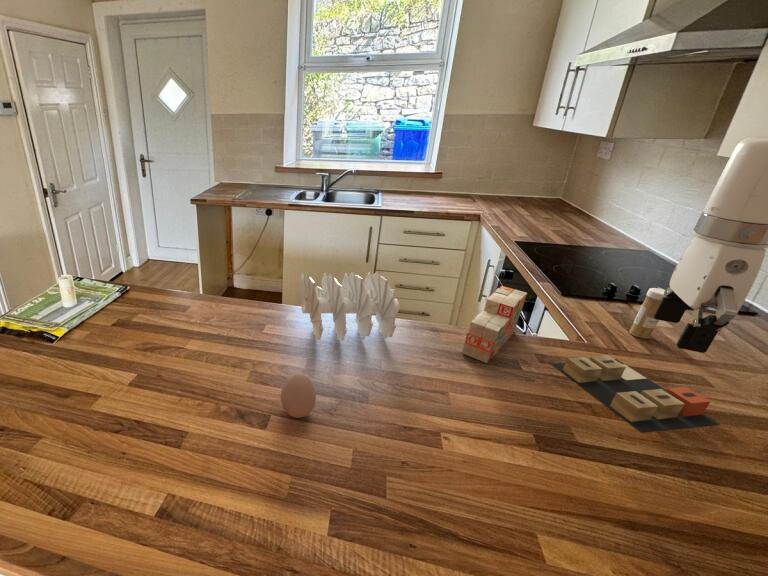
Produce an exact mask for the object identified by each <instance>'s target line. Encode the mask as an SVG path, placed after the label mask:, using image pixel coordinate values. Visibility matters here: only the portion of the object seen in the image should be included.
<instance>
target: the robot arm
mask: <svg viewBox="0 0 768 576" xmlns="http://www.w3.org/2000/svg"><path fill="white" fill-rule="evenodd" d="M691 235H692V236H693V238H692V239H691V241H690V243H689V244H688V245H687V247H686V249H685V251H684V252H683V254H682V255H681V258H680V259H679V261H678V262H677V265H676V266H674V268H673V270H672V274H671V277H670V279H669V280H668V281H667V284H668V286H667V288H666V289H664V290H665V291H664V296H665V297H663V298H662V300H661V302H660V304H659V306H658V308H657V310H656V312H655V314H654V316H653V317H654V318H655V319H656V320H659V321H662V322H668V323H673V324H678V323H680V321H681V320H682V318H683V316H684V314H685V313H686V311H687V309H688V307H689V308H690V309H692V310H693V312H692V322H691V323H689V322H687V324H686V326H685V327H684V329H683V331H682V332H681V334H680V337H679V338H678V340H677V342H676V344H675V345H676V346H677V348H678V349H682V350H686V351H690V352H695V353H701V354H704V353H706V352H707V351H708V350H709V348H710V346H711V345H712V343H713V341H714V339H715V338H716V337H717V335H718V333H719V332H721V331H723V329H724V327H727V326H728V325H729V324H730V321H732V320H733V319H734V318H735V317H736V316H737V315H739V314H738V313H739V311H740V310H741V308H742V307H743V304H744V303H745V301H746V300H747V297H748V296H749V293H750V291H751V289H752V287H753V285H754V284H755V281H756V279H757V278H758V275H759V273H760V270H761V269H762V265H763V262H764V259H765V256H766V252H767V249H768V135H751V136H749V137H748V136H747V137H746V138H744V139H742V140H741V141H739V142H738V143H737V144H736V146H735V147H734V149H733V150H732V152H731V155H730V156H729V158H728V160H727V162H726V164H725V166H724V168H723V170H722V172H721V175H720V177H719V178H718V180H717V182H716V184H715V186H714V188H713V190H712V192H711V194H710V196H709V199H708V200H707V202H706V204H705V207H704V208H703V210H702V212H701V214H700V216H699V218H698V220H697V222H696V224H695V226H694V228H693V230H692V232H691ZM704 313H707V314H709V315H706V316H705V317H704Z"/></svg>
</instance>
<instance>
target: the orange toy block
mask: <svg viewBox="0 0 768 576" xmlns="http://www.w3.org/2000/svg"><path fill="white" fill-rule="evenodd" d="M666 390H667V391H666V392H667V393H668V394H670V395H672V396H673V397H675V398H676V399H678V400H679V401H681V402H683V403H684V406H683V408H682V409H681V411H680V413H679V414H680V415H681V416H683V417H685V416H696V415H702V414H705V412H706V410H707V408H708V407H709V405H710V403H711V400H709V399H708V398H706V397H704V396H703V395H701V394H699V393H697V392H696V391H694V390H692V389H691V388H689V387H687V386H681V387H668V388H666Z"/></svg>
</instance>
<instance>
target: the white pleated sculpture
mask: <svg viewBox="0 0 768 576" xmlns="http://www.w3.org/2000/svg"><path fill="white" fill-rule="evenodd" d="M298 279H299V280H298V288H299V295H300V300H301V301H300V302H301V303H300V304H301V307H300V308H301V312H302V314H309V318H310V319H309V320H310V323H311V324H312V334H313V335H314V340H315V341H321V339H322V335H323V331H324V327H323V323H322V322H323V319H322V314H332V322H333V323H334V325H333V331H334V332H335V334H336V340H337V341H339V340H340V341H342V342H343V341H344V340H345V337H346V334H347V332H348V328H347V319H346V318H347V314H351V315H352V314H353V315H354V314H355V318H354V320H355V323H356V326H357V331H356V332H357V334H359V335H361V339H362V340H365V339H366V338H367V337H370V335H371V332H372V329H373V326H374V323H373V321H372V318H373V317H372V316H373V315H375V319H376V322H377V324H378V327H377V332H380V333H381V334H382V337H383V339H387V338H392V337H393V334H394V332H395V330H396V328H397V324H396V317H397V316H396V315H397V314H398V313H399V311H400V302H399V300H398V299H397V298H396V289H393V288H392V287H391V285H390V284H388V282H389V281H388V279H386V278H385V277H384V276H382V275H380V271H378V270H377V271H376V272H374V273H372V274H371V271H368V272H367V274H366V275H365V278H363V277H361V276H359V275H358V274H356V270H353V271H352V272H350V273H349V274H348V272H345V273H344V275H343V278H342V281H341V284H340V283H339V281H338V280H337V278H335V274H334V273H331V274H328V273H327V272H324V273H323V275H322V278H321V281H320V284H321V287H320V286H316V282H315V281H314V279H313V278H312V277H311V276H310V272H308V273H305V275H304V273H303V272H300V276H299V278H298Z"/></svg>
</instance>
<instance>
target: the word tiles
mask: <svg viewBox="0 0 768 576" xmlns="http://www.w3.org/2000/svg"><path fill="white" fill-rule="evenodd" d="M614 359H615V358H613V357H611V356H609V354H607V355H606V354H605V355H593V356H590V358H589V359H588V358H587V357H585V356H581V357H580V356H579V357H568V358H566V361H565V362H564V363H565V366H564V368H563V371H564V372H565V373H566V374H568V375H569V376H570V377H572V378H573V379H574V380H576V381H577V382H578V383H582V382H594V381H597V379H598V378H599V379H601V380H602V381H607V380H619V379H620V378H621V376H622V374H623V372H624V370H625V368H626V366H624V365H622V364H621V363H619V362H618V361H616V360H614ZM683 406H684V403H683V402H681V401H679V400H678V399H676V398H675V397H673V396H672V395H670V394H668V393H667V392H665V391H664V390H662V389H655V390H644V391H642V392H641V394H639V393H638V392H636V391H632V392H620V393H616V395H615V397H614V399H613V401H612V403H611V405H610V407H612V408H613V409H614V410H616V411H617V412H618V413H620V414H621V415H622V416H624V417H625V418H626V419H628V420H629V421H630V422H633V421H644V420H651V418H652V416H653V417H655V418H656V419H665V418H675V417H677V416H678V414H679V413H680V411H681V409H682V408H683Z"/></svg>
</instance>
